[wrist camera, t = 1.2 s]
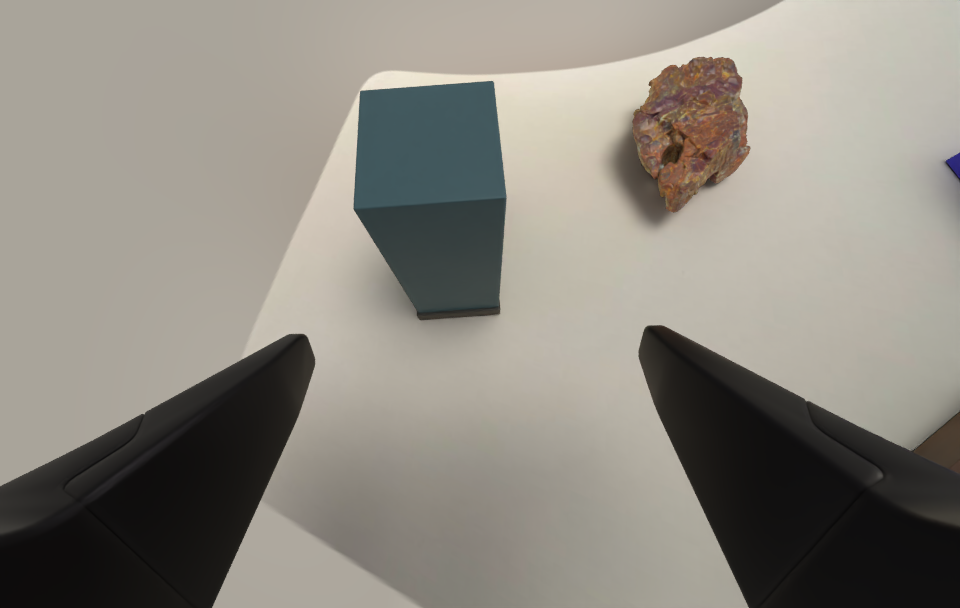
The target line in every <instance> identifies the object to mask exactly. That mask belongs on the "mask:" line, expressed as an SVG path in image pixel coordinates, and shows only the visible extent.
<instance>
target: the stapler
mask: <svg viewBox="0 0 960 608" xmlns="http://www.w3.org/2000/svg"><path fill="white" fill-rule="evenodd" d="M946 162H947V163H948V164H949V166H950V167H951V168H952V170H953V171H954V172H955V173H956V175H957V176H958V177H959V178H960V153H958V154H957V155H955V156H953V157H951V158H950V159H948V160H946Z"/></svg>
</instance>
